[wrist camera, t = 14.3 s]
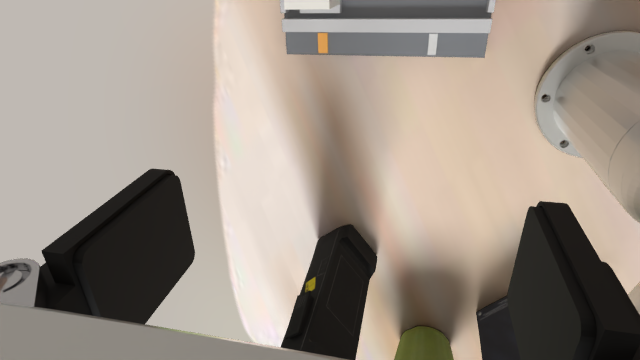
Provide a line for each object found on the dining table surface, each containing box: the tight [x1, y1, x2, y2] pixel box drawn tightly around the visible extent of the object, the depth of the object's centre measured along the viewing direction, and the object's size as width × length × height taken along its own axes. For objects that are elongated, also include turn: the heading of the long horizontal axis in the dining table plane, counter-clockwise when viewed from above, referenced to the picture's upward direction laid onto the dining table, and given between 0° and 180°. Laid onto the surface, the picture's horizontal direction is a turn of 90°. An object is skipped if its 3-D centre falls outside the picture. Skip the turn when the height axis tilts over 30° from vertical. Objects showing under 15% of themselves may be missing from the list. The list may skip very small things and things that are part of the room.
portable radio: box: [281, 225, 377, 360], centre depth 46 cm, size 8×6×25 cm
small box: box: [476, 295, 521, 360], centre depth 52 cm, size 11×6×10 cm, turn 49°
